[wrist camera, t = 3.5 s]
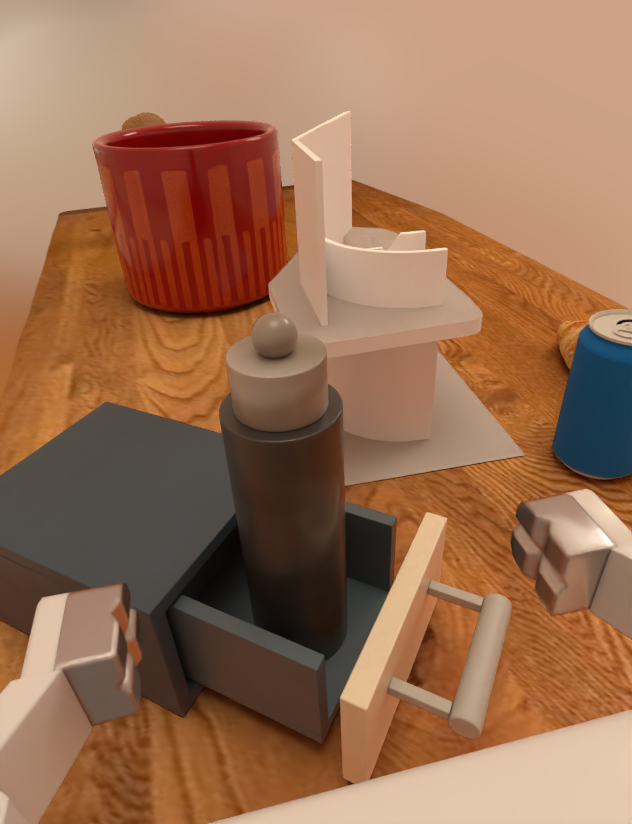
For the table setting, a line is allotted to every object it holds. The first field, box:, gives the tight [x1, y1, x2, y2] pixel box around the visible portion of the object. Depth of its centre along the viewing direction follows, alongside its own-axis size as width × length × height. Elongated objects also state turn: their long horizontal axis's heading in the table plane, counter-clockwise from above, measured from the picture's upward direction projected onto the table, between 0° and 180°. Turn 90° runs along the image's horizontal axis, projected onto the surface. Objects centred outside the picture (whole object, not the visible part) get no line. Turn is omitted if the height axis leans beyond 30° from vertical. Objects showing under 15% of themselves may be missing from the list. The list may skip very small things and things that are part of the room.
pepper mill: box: [219, 312, 347, 660], centre depth 27 cm, size 5×5×19 cm
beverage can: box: [553, 309, 632, 480], centre depth 43 cm, size 6×6×12 cm
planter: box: [93, 121, 288, 314], centre depth 77 cm, size 23×23×20 cm
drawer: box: [165, 501, 512, 784], centre depth 30 cm, size 18×12×7 cm, turn 64°
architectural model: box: [268, 111, 525, 486], centre depth 50 cm, size 28×21×23 cm
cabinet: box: [0, 402, 237, 717], centre depth 35 cm, size 15×13×9 cm
